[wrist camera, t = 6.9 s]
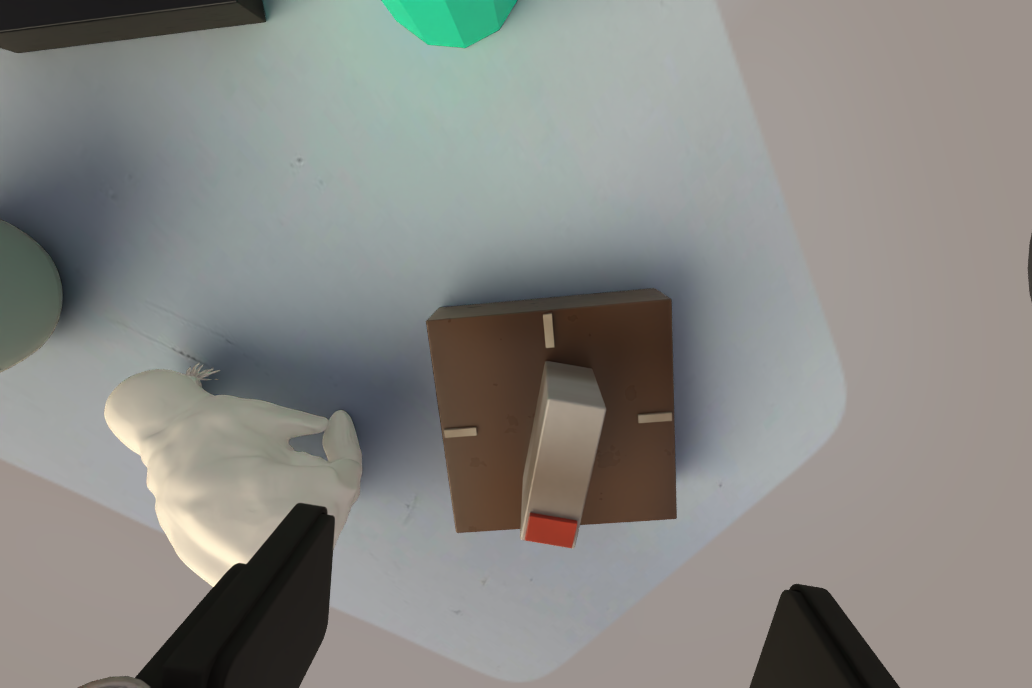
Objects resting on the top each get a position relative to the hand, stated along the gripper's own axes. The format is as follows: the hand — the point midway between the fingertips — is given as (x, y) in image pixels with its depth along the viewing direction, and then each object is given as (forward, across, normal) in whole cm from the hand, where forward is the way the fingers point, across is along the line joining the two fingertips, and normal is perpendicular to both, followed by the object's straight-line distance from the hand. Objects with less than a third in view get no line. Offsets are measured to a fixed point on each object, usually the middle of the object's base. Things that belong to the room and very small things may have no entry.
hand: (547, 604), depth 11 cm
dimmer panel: (+15, -1, +1) cm, 15 cm away
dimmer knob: (+12, -1, +1) cm, 12 cm away
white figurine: (+15, +13, +5) cm, 20 cm away
